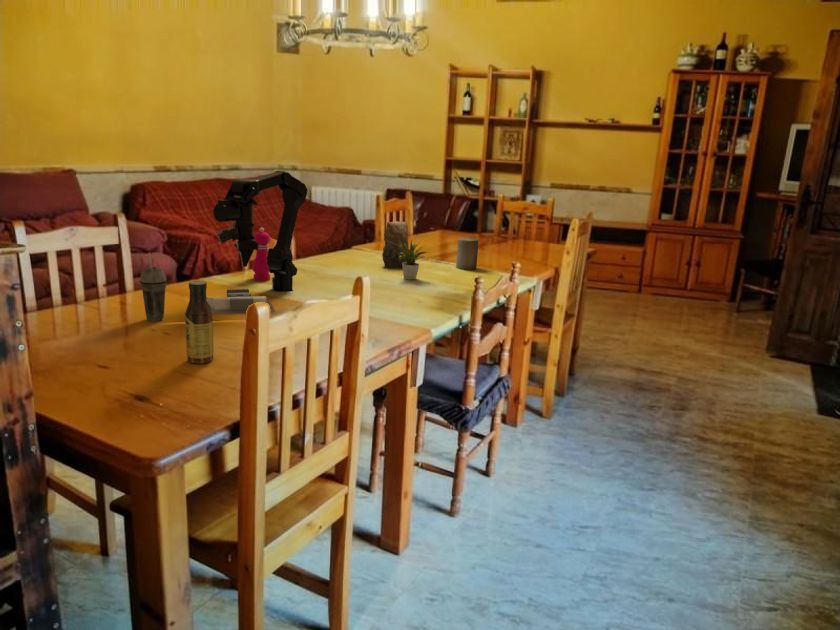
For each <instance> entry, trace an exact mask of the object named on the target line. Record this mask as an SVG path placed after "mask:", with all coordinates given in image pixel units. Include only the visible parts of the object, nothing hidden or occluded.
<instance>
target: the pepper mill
mask: <svg viewBox="0 0 840 630" xmlns="http://www.w3.org/2000/svg"><path fill="white" fill-rule="evenodd" d="M253 236H254V240H255V241H256V242H257V243H258V250H255V252H256V254H255V258H254V260H253V262H252V266H251V267H252V268H251V270H252V271H253V272H254V274H253V280H255V281H260V282H262V281H264V282H266V281H270V280H271V273H270V271H269V267H268V265H267V259H266V258H267V256H268V250H269V242H270V240H271V237H270V234H269V233H268V232H266V231H265V228H264V227H260V228H259V231H257V232H256V233H255V234H253Z"/></svg>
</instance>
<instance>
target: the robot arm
mask: <svg viewBox="0 0 840 630" xmlns="http://www.w3.org/2000/svg"><path fill="white" fill-rule="evenodd" d="M274 187H277V188H278V189H279V190H280V191H281V198H282V201H283V204H284V206H283V211H282V215H281V219H280V220H281V221H280V225H279V230H278V233H277V237H276V239H277V240H276V244H275V245H274V246H273V247H272V248H271V247H270V248H268V249H267V255H268V256H267V258H266V259H267V265H268V267H269V271H270V272H269V274H273V277H271V279H272V280H271V286H272V287H271V289H272V290H273V291H275V293H276V292H279V293H280V292H285V293H286V292H294V290H293V286H294V285H293V281H294V279H293V277H295V276H297V275H298V274H297V273H298V268H297V266H295V264H294V263H293V257H294V256H293V253H292V249H291V245H292V239H293V236H294V231H295V227H296V226H295V225H296V221H297V217H298V212H299V209H300V208H301V206H302V205H303V204H304V203H305V202H306V201H305V200H306V198H307V195H308V188H307V185H306V184H305V183H304V182H302V181H301V180H299V179H297V178H296V177H294V176H293V175H291V174H290V173H289V172H288V171H287V170H286V171H285V170H276V171H274V172H272V173H268V174H264V175H261V176H258V177H255V178H248V179H247V178H245V179H244V178H241V179H234V180H233V181H232V182H231V185H230V187H229V189H228V190H227V193H226V195H225V196H224V198H223V199H218V200H217V204H215V206H214V208H213V211H212V214H213V217H214V219H215V221H217V222H219V223H225V222H232V226H230V227H229V226H228V227H227V228H224V229H221V230H219V231H217V232H216V235H217V237H218V240H219V242H220V243H221V244H224V243H226V242H227V241H231V242H236V243H235V244H233V246H234V247H235V248H236V250H237V251H238V252H239V256H240V259H241V264H242V267H243V268H246V267H247V266H248V265H249V261H250V260H251V258H252V255H253V253H254V251H256V250H258V243H257V242H256V241H255V240H254V227H255V223H254V209H253V207H254V206H257V205H258V202H257V201H256V200H255V199H254V198H255V197H257V196H259V194H260V192H263V191H264V190H268V189H270V188H274Z"/></svg>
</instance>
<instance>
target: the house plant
mask: <svg viewBox="0 0 840 630" xmlns="http://www.w3.org/2000/svg"><path fill="white" fill-rule="evenodd" d="M420 243H421V241H418V242H417V244H416V242H413V240H412V239H411V240H410V244H409V246H410V247H409V249H408V247H407V245H405V243H404V245H405V248H406V251H407V253H406V251H405V249H404V247H403V246H401V245H400V247H402V248H403V249H402V248H401V249H402V250H403V251H404V253H405V254H404V253H403V252H401V253H400V254H402V255H404V258H403V259H405V260H406V262H404V263H402V266H403V269H402V273H403V280H407V279H415V280H416V279H417V276H418V271H419V267H420V263H417V261H418V260H419V259H424V260H426V259H427V257H426V255H424V254H426V253H430V251H420V250H422V249H425V248H426V247H425V246H426V244H423V245H422V246H420V247H419V248H418V249H417V250H416V248H417V246H418V245H419V244H420ZM395 245H397V244H395ZM415 250H416V251H415ZM419 251H420V252H419ZM399 257H403V256H399ZM400 259H401V258H400Z"/></svg>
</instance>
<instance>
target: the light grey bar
mask: <svg viewBox="0 0 840 630" xmlns="http://www.w3.org/2000/svg"><path fill="white" fill-rule="evenodd" d="M250 297H253V303H256V302H265V303H267V298H266V295H262V296H260V295H255V296H254V295H253V296H252V295H251V296H250ZM213 298H214V309H230V298H249V297H227V296H223V297H222V296H218V297H215V296H214V297H213Z"/></svg>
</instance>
